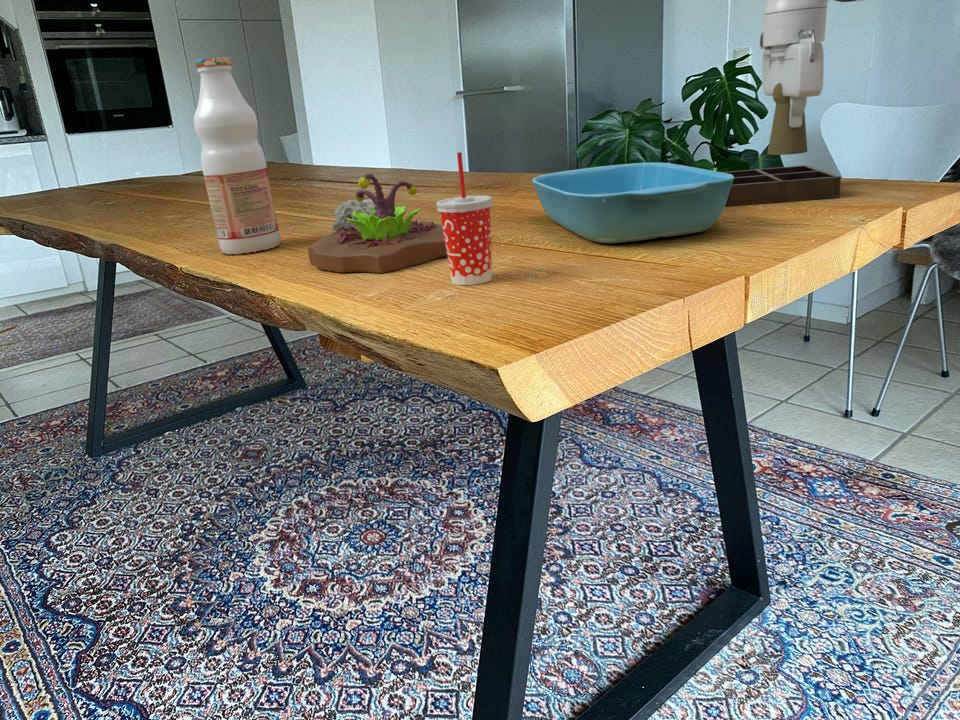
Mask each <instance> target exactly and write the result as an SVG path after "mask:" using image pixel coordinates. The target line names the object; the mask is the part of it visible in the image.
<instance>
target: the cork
mask: <svg viewBox="0 0 960 720" xmlns="http://www.w3.org/2000/svg"><path fill="white" fill-rule="evenodd" d="M772 100H773V101H774V104H775V107H774V114H773V119H772V124H771V130H770V137H769V142H768V148H767V152H766V153H767V155H771V156H780V155H781V156H783V155H784V156H786V155H787V156H789V155H800V154H805V153H807V152H808V141H807V126H806V125H807V124H806V114H805V111H804V113H803V117H802V125H801V126H800V127H795V128H791V127H789V126H788V116H789V114H790V107H791V104H790V97H785V96H783V93H782V84H781V83H778V84H777V85H776V86H775V87H774V90H773V96H772Z"/></svg>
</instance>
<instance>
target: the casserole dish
mask: <svg viewBox="0 0 960 720" xmlns="http://www.w3.org/2000/svg"><path fill="white" fill-rule="evenodd" d="M722 172H723V171H716V170H711V169H706V168H699V167H694V166H690V165H689V166H688V165H685V164H684V165H683V164H677V163H670V162H659V161H658V162H657V161H655V162H636V163H633V162H632V163H626V164H625V163H623V164H611V165H602V166H601V165H600V166H594V167H585V168H578V169H577V168H576V169H570V170H563V171H556V172H551V173H545V174H542V175H538V176H535V177H533V178H532V180H531V181H532V185H533V187H534V188H535V192H536V194H537V196H538V200H539V202H540V205H541V207H542V209H543V211H544V213H545V214H546V216H547V217H549V219H550V220H551V221H554V222H555V223H556V224H558V225H560V226H561V227H562V228H565V229H567V230H568V231H570V232H573V233H574V234H576V235H578V236H580V237H582V238H585V239H586V240H589V241H592V242H596V243H602V244H618V243H619V244H620V243H628V242H638V241H639V242H640V241H645V240H652V239H653V240H655V239H658V238H660V237H661V238H668V237H677V236H683V235H689V234H695V233H701V232H705V231H707V230H708V229H709V228H711V226H713V225H714V224H715V223H716V222H717V221H718V220H719V219H720V218H721V216H722V214H723V211H724V209H725V207H726V206H725V204H726V202H727V199H728V195H729V192H730V189H731V186H732V183H733V180H734V176H733V175H731V174H728V173H722Z"/></svg>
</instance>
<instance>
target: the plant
mask: <svg viewBox="0 0 960 720" xmlns="http://www.w3.org/2000/svg"><path fill="white" fill-rule="evenodd" d="M370 181H372V183H373V187H374V188H373V189H374V191H375V193H372V192H371V191H369V190H366V189H367V188H369V186H370V183H371V182H370ZM357 184H358V186H359V188H360V189H358V190H357V191H356V192H355V193H354V198H355V199H354V200H357V201H360V202H361V201H363V200H365V196H367V197H368V199H371V200H372V201H373V203H374V204H375V208H372V209H371V216H370V215H368V214H366V213H363V212H357V211H355V212H354V214H353V215H354V217H356V218H357V219H358V220H359V221H357V220H352V219H349V218H347V220H348V221H350V222H351V223H353V224H355V225H356V226H357V228H358V229H355V228H354V227H353V226H351V227H348V228H347V229H346V228H344V227H339V228H338V230H337V232H334V233H333V234H330V235H327V236H325V237H322V238H320V239H319V240H317V241H316V242H314V243H312V244H311V245H308V246H307V251H308V252H307V253H308V259H309V263H310V264H311V265H314V266H315V267H316V269H318V270H321V271H325V270H327V271H326V272H333V271H334V272H333V273H339V272H341V274H346V272H348V273H358V272H359V273H372V274H385V273H388V272H395V271H399V270H402V269H404V268H408V267H413V266H417V265H421V264H424V263H428V262H431V261H434V260H436V259H441V258H448V256H447V251H446V245H445V239H444V233H443V228H442V224H438V223H435V222H434V221H419V222H418V219H417V218H415V220H413V218H414V217H415V216H416V215H418V213H419V212H420V210H421V208H420V207H419V208H417V209H414V210H412V211H410V213H408V215H407V216H406V218H405V219H404V216H405V215H406V214H407V212H408V211H407V210H406V206H405V205H402V206H400V205H395V204H396V203H395V201H396V200H395V199H396V194H397V192H398V189H400V187H403V186H405V187H406V190H407V193H408V194H409V195H411V196H415V195H416V194H417V192H418V189H417V187H416V186H415V185H414V184H413V183H410V182H406V181H404V180H401V181H400V182H399V181H398V182H397V183H395V184H394V185H393V186H392V187H391V189H390V190H389V191H388V195H387V197H386V198H385V195H384V192H383V187H382V185H381V184H380V181H379V180H378V178H377V177H376V176H374V174H372V173H370V174H369V173H367V174H365V173H364V175H362V176H361V177H359V179H358V183H357ZM349 228H351V229H349ZM340 229H344V230H342V231H340V232H339V233H338V231H339V230H340Z"/></svg>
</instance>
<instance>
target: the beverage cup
mask: <svg viewBox="0 0 960 720" xmlns="http://www.w3.org/2000/svg"><path fill="white" fill-rule="evenodd" d="M456 155H457V156H456V157H457V166H458V175H459V186H460V187H459V188H460V196H457V197H451V198H444V199H441V200H439V201H437V202H436V204H435V205H436V207H437V209H436V211H437V212H439V215H440V221H441V222H440V223H441V225H442V228H443V233H444V239H445V245H446V251H447V262H448V267H449V272H450V278H451V283H453V285H457V286H473V285H481V284H484V283H488V282H490V281H491V280H492V279H493V260H492V259H493V258H492V253H493V252H492V224H491V222H492V221H491V220H492V219H491V207H492V206H493V202H492V201H493V197H492V196H490V195H466V194H467V193H466V183H465V175H464V173H465V172H464V165H463V164H464V163H463V155H462V152H461V151H460V152H457V153H456Z"/></svg>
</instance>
